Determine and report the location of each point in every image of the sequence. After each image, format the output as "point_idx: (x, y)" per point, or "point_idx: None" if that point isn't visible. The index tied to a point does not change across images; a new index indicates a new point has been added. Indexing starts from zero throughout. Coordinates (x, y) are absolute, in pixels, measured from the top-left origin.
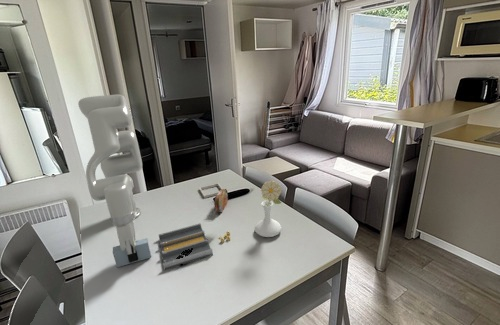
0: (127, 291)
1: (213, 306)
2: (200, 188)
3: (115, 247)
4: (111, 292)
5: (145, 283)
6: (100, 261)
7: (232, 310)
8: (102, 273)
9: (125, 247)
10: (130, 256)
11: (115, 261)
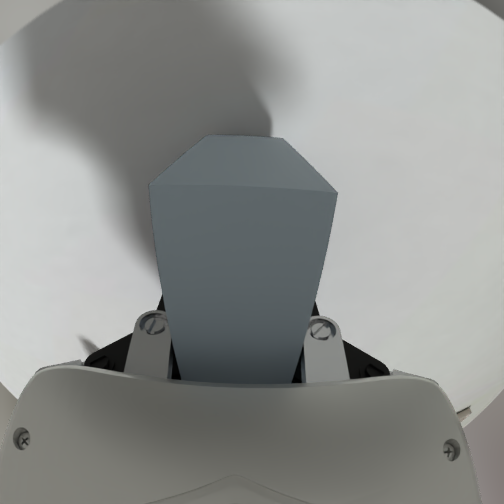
0: (8, 216)
1: (9, 379)
2: (465, 416)
3: (290, 240)
4: (13, 134)
5: (42, 290)
6: (382, 27)
7: (10, 390)
8: (209, 25)
9: (203, 360)
10: (158, 308)
11: (194, 146)
